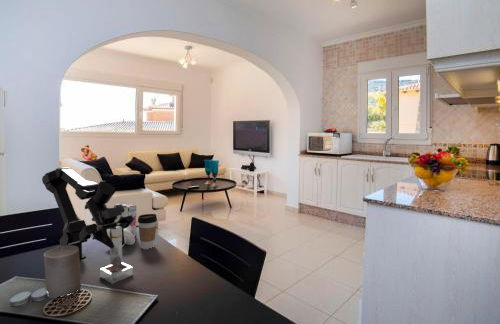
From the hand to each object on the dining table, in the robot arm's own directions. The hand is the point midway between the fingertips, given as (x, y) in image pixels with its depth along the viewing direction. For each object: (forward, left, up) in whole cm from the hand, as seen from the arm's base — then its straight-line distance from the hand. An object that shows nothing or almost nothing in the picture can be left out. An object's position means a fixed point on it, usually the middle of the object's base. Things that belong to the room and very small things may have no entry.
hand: (118, 246), depth 105 cm
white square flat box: (-1, 0, -12) cm, 12 cm away
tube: (-1, 0, -7) cm, 7 cm away
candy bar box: (-37, +26, -12) cm, 47 cm away
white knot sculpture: (-27, +17, -12) cm, 34 cm away
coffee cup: (-16, +24, -12) cm, 31 cm away
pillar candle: (-5, -16, -12) cm, 21 cm away
